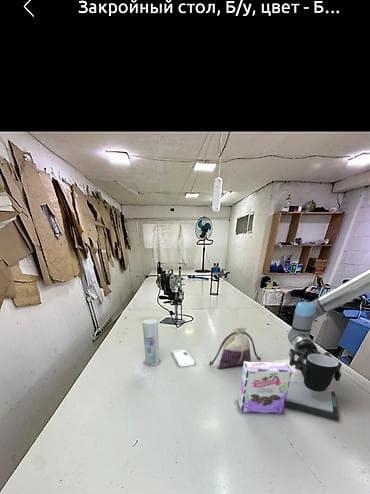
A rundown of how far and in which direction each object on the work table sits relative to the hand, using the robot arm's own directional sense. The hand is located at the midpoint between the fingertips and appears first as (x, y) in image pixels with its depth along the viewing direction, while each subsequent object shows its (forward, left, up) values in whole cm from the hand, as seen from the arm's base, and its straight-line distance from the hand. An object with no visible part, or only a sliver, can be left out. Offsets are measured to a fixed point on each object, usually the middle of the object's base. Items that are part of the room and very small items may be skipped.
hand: (322, 375), depth 74 cm
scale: (+1, -4, -13) cm, 14 cm away
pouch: (+32, -18, -13) cm, 39 cm away
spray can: (+67, -3, -13) cm, 69 cm away
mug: (+1, -4, -6) cm, 8 cm away
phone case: (+56, -13, -13) cm, 59 cm away
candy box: (+16, +8, -13) cm, 22 cm away
